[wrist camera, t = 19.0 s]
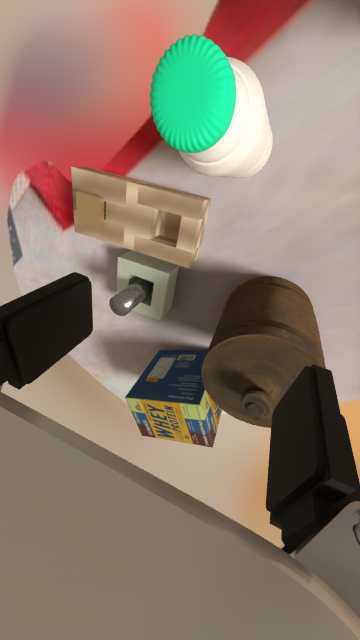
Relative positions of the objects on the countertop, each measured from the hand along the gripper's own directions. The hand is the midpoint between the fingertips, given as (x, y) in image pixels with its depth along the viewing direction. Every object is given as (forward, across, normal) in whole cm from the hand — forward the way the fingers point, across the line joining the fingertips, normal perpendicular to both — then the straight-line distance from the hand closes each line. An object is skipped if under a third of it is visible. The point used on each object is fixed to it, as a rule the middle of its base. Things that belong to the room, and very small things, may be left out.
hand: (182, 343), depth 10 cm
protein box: (+32, +3, +34) cm, 47 cm away
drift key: (+30, +25, +4) cm, 40 cm away
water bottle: (+33, +5, -8) cm, 35 cm away
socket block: (+33, +19, +4) cm, 38 cm away
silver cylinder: (+31, +16, +16) cm, 39 cm away
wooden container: (+33, -7, +15) cm, 37 cm away
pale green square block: (+32, +16, +16) cm, 39 cm away
